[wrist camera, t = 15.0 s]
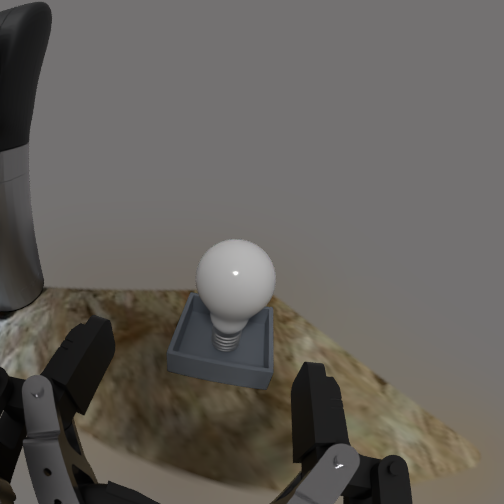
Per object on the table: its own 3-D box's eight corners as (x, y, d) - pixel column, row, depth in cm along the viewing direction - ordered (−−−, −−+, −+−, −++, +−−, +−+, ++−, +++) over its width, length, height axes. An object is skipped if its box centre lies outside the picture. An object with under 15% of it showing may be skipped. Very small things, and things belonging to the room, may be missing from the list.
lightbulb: (262, 334, 28) (288, 238, 23) (247, 379, 22) (276, 275, 17) (205, 316, 28) (217, 220, 24) (180, 356, 23) (184, 249, 18)
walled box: (167, 371, 21) (166, 352, 20) (189, 310, 29) (190, 292, 28) (266, 389, 22) (273, 372, 21) (267, 325, 30) (272, 307, 28)
